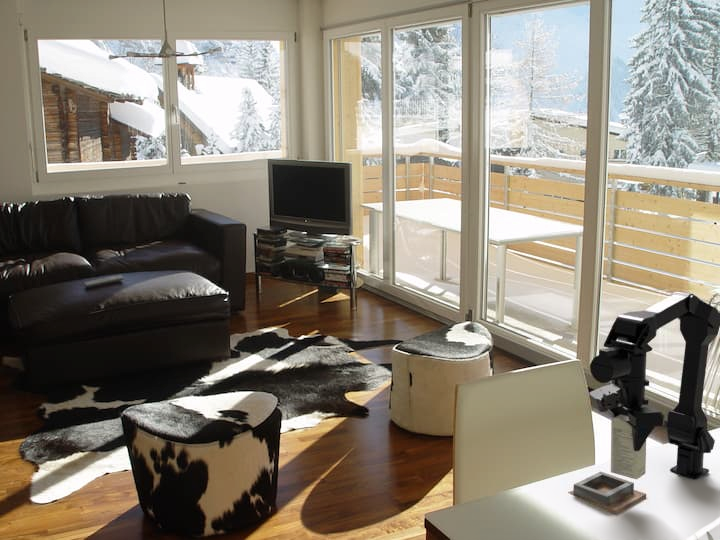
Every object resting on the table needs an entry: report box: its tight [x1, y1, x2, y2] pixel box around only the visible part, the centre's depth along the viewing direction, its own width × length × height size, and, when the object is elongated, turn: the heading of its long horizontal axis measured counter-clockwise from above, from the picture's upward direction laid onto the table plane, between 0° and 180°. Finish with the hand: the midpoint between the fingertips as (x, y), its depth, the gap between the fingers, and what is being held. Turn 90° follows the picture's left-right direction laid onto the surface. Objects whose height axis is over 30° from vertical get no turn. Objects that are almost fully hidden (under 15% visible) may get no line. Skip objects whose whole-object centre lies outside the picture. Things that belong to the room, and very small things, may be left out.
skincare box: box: [610, 415, 647, 480], centre depth 175 cm, size 6×4×12 cm
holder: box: [567, 471, 647, 515], centre depth 180 cm, size 12×12×3 cm
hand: (628, 444), depth 175 cm, fingers closed on skincare box, 7 cm apart
